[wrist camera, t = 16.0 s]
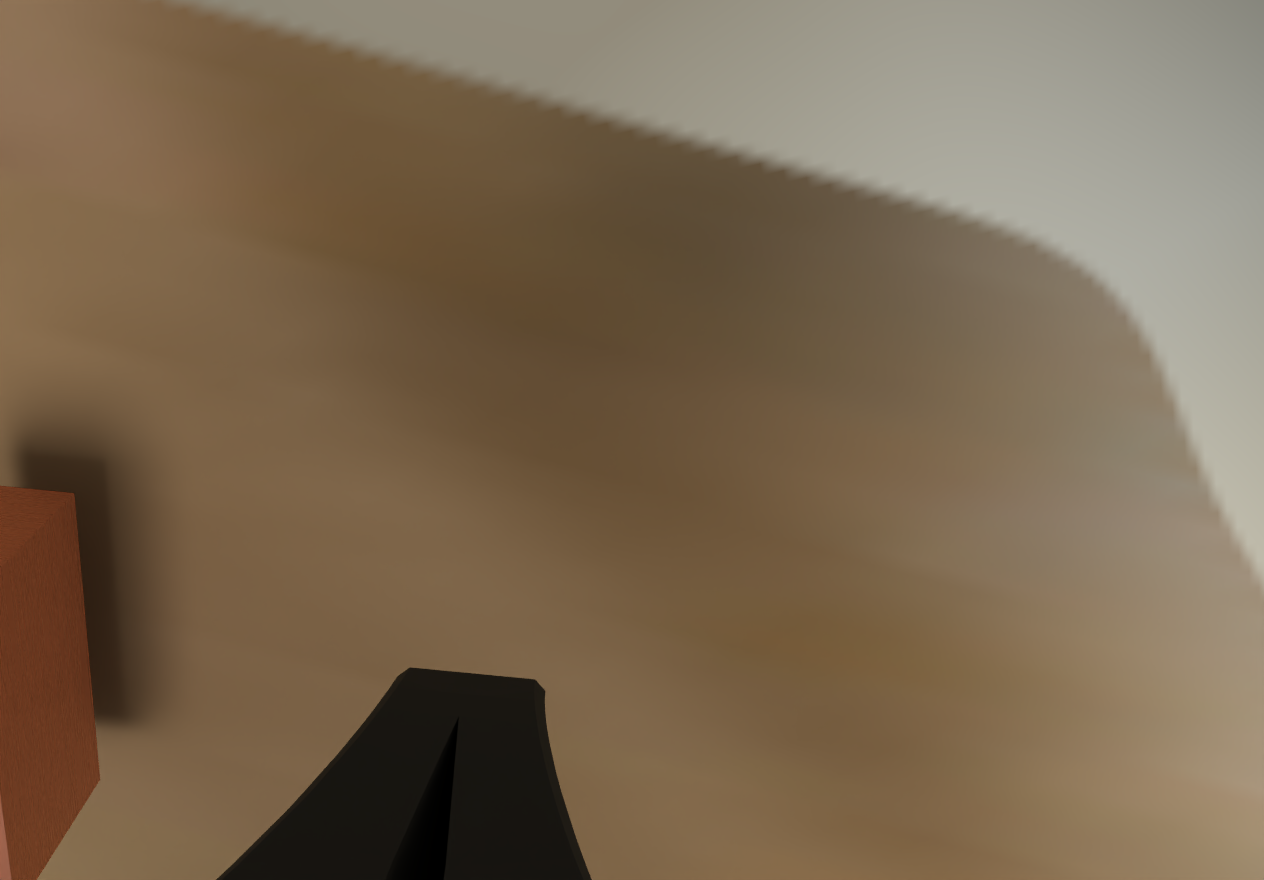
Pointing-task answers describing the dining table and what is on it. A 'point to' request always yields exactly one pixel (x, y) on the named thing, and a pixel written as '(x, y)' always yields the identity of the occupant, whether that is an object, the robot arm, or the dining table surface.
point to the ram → (42, 680)
